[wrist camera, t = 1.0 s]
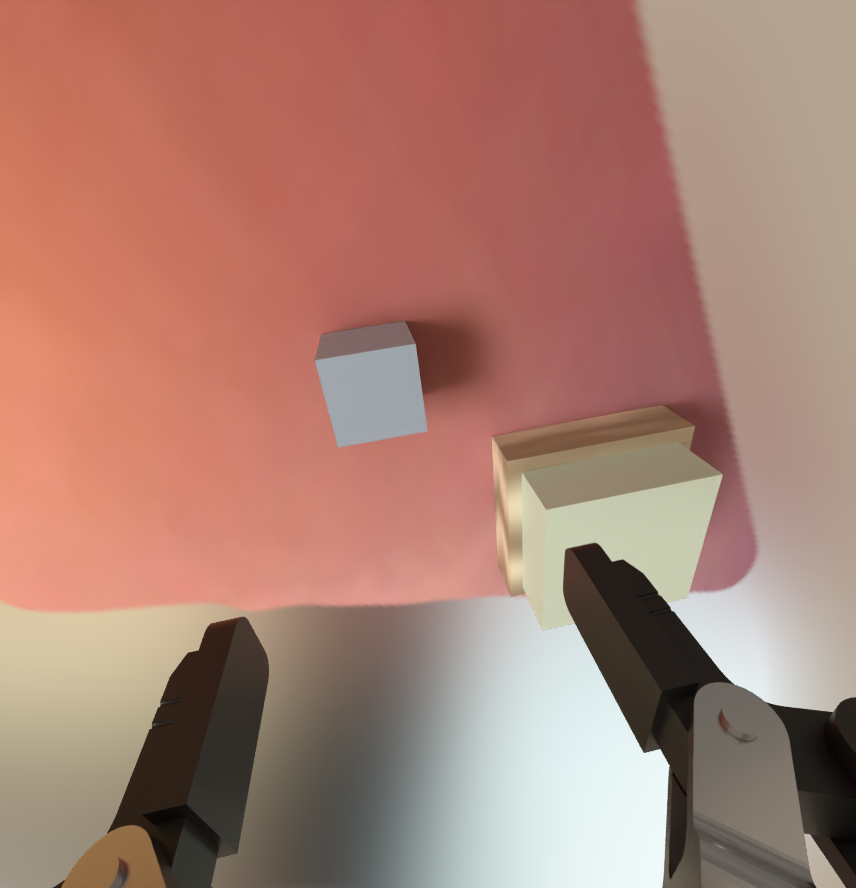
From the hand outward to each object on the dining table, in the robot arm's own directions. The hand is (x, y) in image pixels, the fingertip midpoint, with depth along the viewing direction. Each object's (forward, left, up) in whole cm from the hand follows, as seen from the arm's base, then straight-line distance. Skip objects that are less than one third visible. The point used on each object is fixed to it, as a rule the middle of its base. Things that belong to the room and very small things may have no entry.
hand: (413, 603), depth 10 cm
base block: (+13, +14, -19) cm, 27 cm away
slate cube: (0, 0, -18) cm, 18 cm away
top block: (+13, +14, -15) cm, 24 cm away
